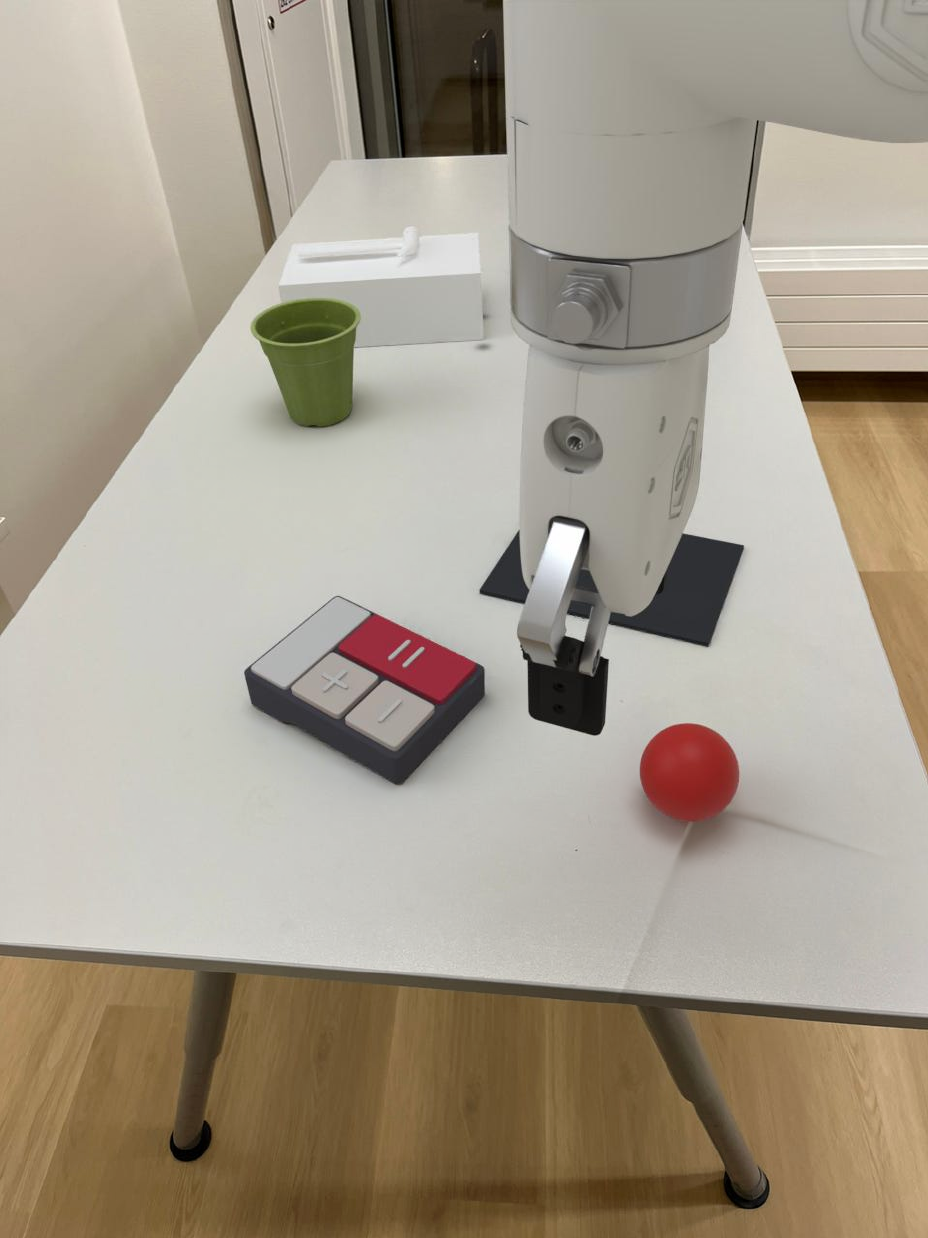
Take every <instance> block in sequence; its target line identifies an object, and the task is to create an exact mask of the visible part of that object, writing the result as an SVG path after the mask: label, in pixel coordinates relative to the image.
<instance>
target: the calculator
mask: <svg viewBox="0 0 928 1238" xmlns="http://www.w3.org/2000/svg"><path fill="white" fill-rule="evenodd" d="M243 674H244V679H245V684H246V687H247V691H248V696H249V699H250V703H251V705H252V706H254V707H255V708H256V709H258V710H260V711H262V712H263V713H265V714H267V715H269V716H271V717H272V718H274V719H275V720H277V721H279V722H281V723H282V724H292V725H294V726H296V727H297V728H299V729H301V730H302V731H304V732H306V733H308V734H309V735H311V736H312V737H315V739H318V740H319V741H322V742H323V743H325V744H326V745H328V746H330V747H331V748H333V749H335V750H337V751H338V752H340V753H341V754H344V755H345V756H346V757H348V758H350V759H352V760H354V761H356V762H357V763H359V764H361V765H362V766H364V767H366V768H368V769H369V770H371V771H373V772H374V773H376V774H378V775H379V776H381V777H383V778H384V779H386V780H388V781H390V782H391V783H393V784H396V785H401V784H403V783H404V782H405V781H407V778H409V776H411V774H413V773H414V771H415V770H416V769H417V768H418V767H419V766H420V765H421V764H422V763H423V761H425V759H426V758H427V757H428V756H429V755H430V754H431V753H432V752H433V751H434V750H436V748H437V747H438V745H440V743H441V742H443V740H444V739H445V738H446V737H447V736H449V734H450V733H451V732H452V731H453V730H454V729H455V727H456V726H457V725H459V723H460V722H461V721H462V720H463V719H464V718H465V717H466V716H467V715H468V714H469V713H470V712H471V710H473V708H475V706H477V704H478V703H479V702H480V701H481V700H482V699H483V698H484V697H485V694H486V693H485V692H486V686H485V685H486V683H485V682H486V681H485V680H486V669H485V667H484V666H483V665H482V664H480V663H478V662H475V661H474V660H472V659H470V658H467V657H465V656H463V655H461V654H459V653H458V652H456V651H453V650H451V649H449V648H447V647H445V646H443V645H441V644H439V643H437V642H435V641H433V640H431V639H429V638H426V637H424V636H423V635H421V634H419V633H416V632H414V631H413V630H410V629H409V628H406V627H404V626H402V625H400V624H398V623H396V622H394V621H392V620H390V619H388V618H385V617H384V616H382V615H380V614H378V613H376V612H374V611H372V610H370V609H367V608H366V607H364V606H362V605H359V604H358V603H355V602H353V601H352V600H349V599H347V598H345V597H343V596H340V595H336V596H333V597H332V598H331V599H329V600H328V601H327V602H326V603H325V604H323V605H322V606H321V607H319V608H318V609H317V610H316V611H315V612H314V613H313V614H311V615H310V616H308V617H307V619H305V620H304V621H303V622H301V623H300V624H299V625H297V627H295V628H294V629H293V630H292V631H290V632H289V633H288V634H286V635H285V636H284V637H283V638H281V639H280V641H278V642H277V643H276V644H274V645H273V646H272V647H271V648H270V649H268V650H267V651H266V652H265V653H264V654H262V655H261V656H260V657H259V658H257V659H256V660H255V661H254V662H252V663H251V664H250V665H249V666H247V668H245V669H244V670H243Z"/></svg>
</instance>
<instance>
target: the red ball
mask: <svg viewBox="0 0 928 1238" xmlns="http://www.w3.org/2000/svg"><path fill="white" fill-rule="evenodd" d="M640 758H641V759H640V762H639V779H640V783H641V787H642V789H643V791H644V794H645V796H646V797H647V799H648V801H649V802H650V803H651V804H652V805H653V806H654V808H656V809H657V810H658V811H660V812H661V813H662V814H664V815H665V816H667V817H669V818H671V819H674V820H677V821H681V822H700V821H705V820H708V819H711V818H714V817H715V816H716V815H719V814H720V813H721V812H723V811H724V810H725V809H726V808H727V807H728V806H729V805H730V803H731V802H732V801H733V799H734V797H735V795H736V793H737V790H738V787H739V783H740V765H739V761H738V758H737V756H736V753H735V750H734V749H733V748H732V746H731V744H730V743H729V742H728V741H727V739H725V737H723V736H722V735H721V734H720V733H719V732H717V731H716V730H714V729H713V728H710V727H708V726H705V725H703V724H698V723H691V722H687V723H686V722H685V723H684V722H683V723H678V724H673V725H670V726H667V727H665V728H664V729H662V730H660V731H658V732H657V733H656V734H655V735H654V736H653V737H652V738H651V739H650V740H649V742H647V744H646V746H645V748H644V750H643V752H642V755H641V757H640Z"/></svg>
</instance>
